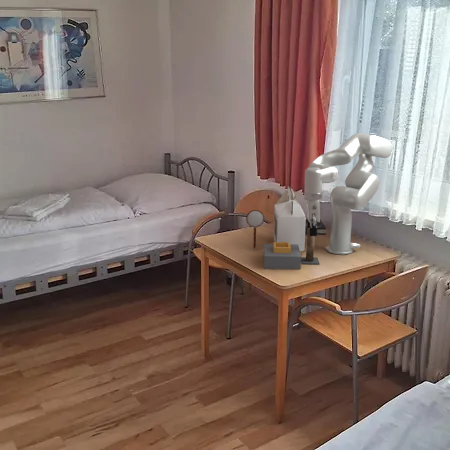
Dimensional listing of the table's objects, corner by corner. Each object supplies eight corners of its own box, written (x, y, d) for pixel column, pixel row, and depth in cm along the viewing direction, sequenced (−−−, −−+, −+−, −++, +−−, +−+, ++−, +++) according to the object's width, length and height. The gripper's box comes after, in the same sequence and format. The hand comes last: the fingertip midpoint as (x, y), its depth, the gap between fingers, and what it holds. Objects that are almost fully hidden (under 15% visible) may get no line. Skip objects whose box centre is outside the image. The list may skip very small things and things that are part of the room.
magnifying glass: (246, 250, 264) (246, 210, 258) (245, 249, 266) (246, 209, 260) (263, 249, 265) (264, 210, 259) (262, 248, 267) (263, 209, 261)
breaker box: (297, 256, 256) (298, 239, 254) (300, 269, 241) (301, 251, 238) (263, 256, 257) (263, 238, 254) (264, 268, 242) (264, 250, 239)
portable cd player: (294, 236, 287) (295, 228, 286) (290, 226, 303) (290, 219, 302) (325, 235, 287) (326, 228, 286) (319, 226, 304) (320, 219, 302)
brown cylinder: (313, 258, 252) (314, 227, 247) (313, 261, 248) (315, 230, 244) (305, 258, 252) (306, 227, 247) (306, 261, 249) (307, 230, 244)
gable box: (304, 251, 263) (306, 195, 255) (276, 251, 263) (278, 195, 255) (298, 236, 284) (301, 184, 276) (273, 236, 284) (274, 184, 276)
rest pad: (317, 258, 254) (317, 257, 254) (319, 264, 246) (319, 263, 246) (300, 258, 254) (300, 257, 254) (301, 264, 247) (301, 263, 247)
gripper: (324, 201, 233) (322, 238, 238) (319, 190, 249) (318, 226, 255) (306, 201, 233) (305, 239, 239) (302, 190, 250) (301, 226, 255)
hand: (312, 232), depth 247 cm, fingers open, 9 cm apart
